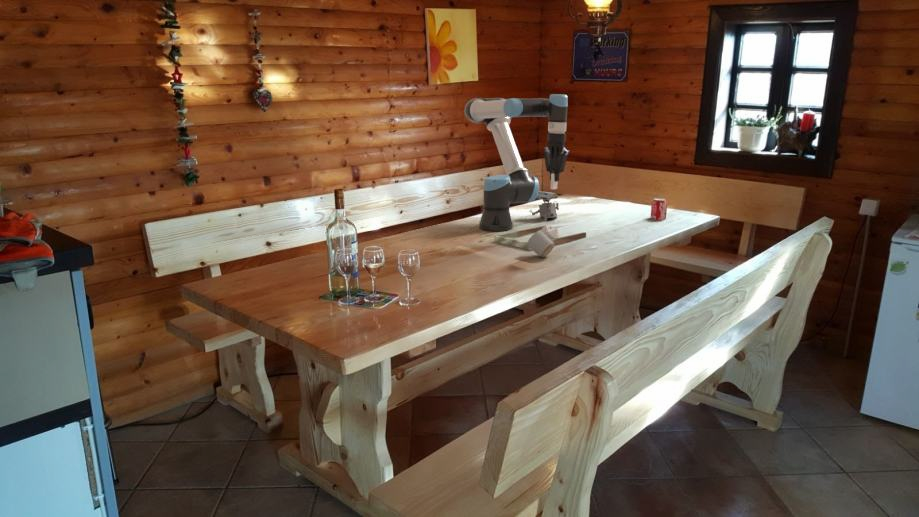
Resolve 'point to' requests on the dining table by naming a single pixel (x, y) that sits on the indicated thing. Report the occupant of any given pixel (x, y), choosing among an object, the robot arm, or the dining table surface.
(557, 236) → the die
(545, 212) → the figurine
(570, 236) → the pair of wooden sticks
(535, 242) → the ceramic mug
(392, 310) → the dining table surface
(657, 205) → the soda can
